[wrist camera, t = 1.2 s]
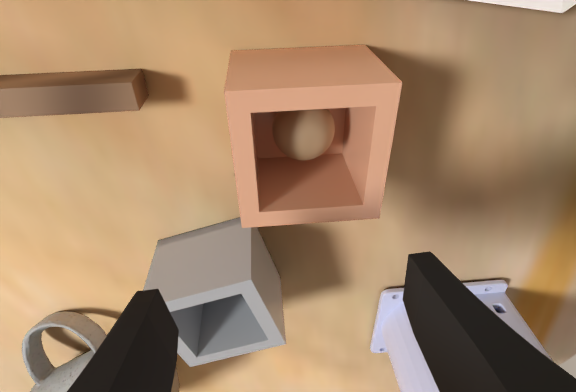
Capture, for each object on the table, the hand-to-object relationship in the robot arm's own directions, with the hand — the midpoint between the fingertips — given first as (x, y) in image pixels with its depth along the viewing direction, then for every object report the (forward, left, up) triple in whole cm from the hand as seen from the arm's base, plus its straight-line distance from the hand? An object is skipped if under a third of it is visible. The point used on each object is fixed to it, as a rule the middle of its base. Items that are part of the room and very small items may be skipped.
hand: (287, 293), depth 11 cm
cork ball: (-1, -1, -8) cm, 8 cm away
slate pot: (+4, +9, -10) cm, 14 cm away
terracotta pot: (-1, -1, -10) cm, 10 cm away
